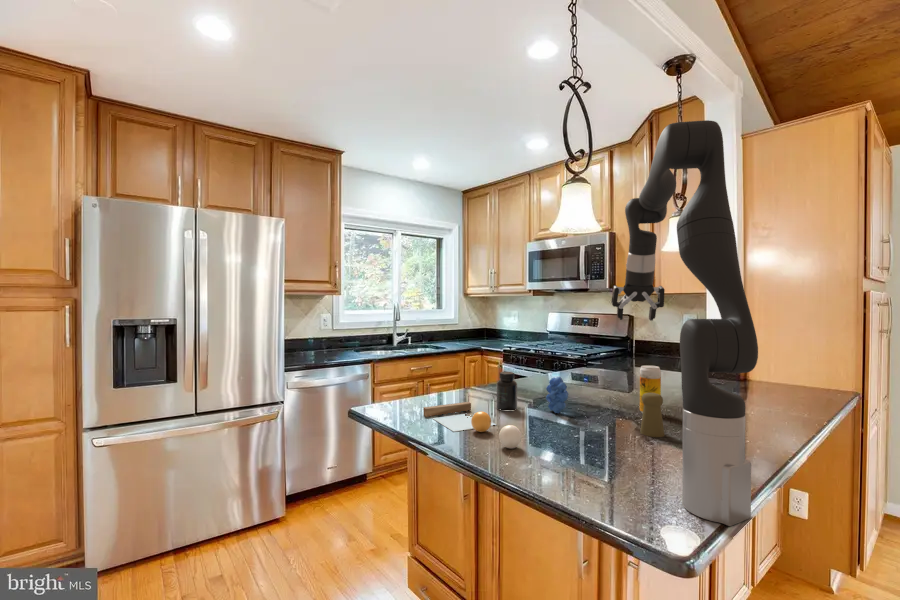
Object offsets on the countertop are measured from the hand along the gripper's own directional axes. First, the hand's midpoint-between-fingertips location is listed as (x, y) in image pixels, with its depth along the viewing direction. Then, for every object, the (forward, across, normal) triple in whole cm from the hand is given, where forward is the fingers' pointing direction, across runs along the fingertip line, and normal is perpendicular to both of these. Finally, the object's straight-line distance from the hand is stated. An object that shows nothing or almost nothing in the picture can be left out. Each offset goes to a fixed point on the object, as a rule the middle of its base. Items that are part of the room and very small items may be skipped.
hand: (635, 319), depth 128 cm
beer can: (+32, +6, -3) cm, 32 cm away
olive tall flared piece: (+24, +2, -23) cm, 34 cm away
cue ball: (+15, -35, -40) cm, 56 cm away
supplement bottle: (+31, -39, -7) cm, 50 cm away
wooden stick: (+27, -57, -16) cm, 65 cm away
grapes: (+30, -22, -8) cm, 38 cm away
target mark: (+24, -50, -24) cm, 61 cm away
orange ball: (+19, -44, -30) cm, 57 cm away
